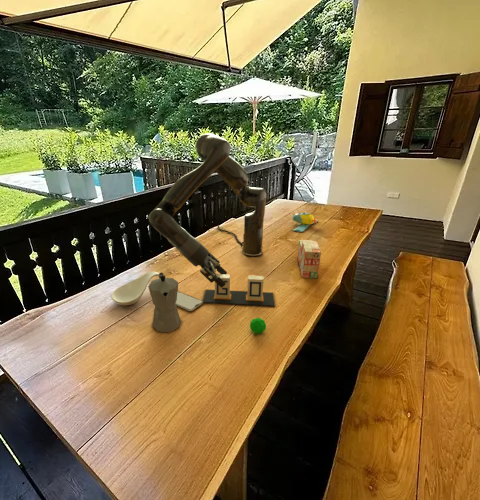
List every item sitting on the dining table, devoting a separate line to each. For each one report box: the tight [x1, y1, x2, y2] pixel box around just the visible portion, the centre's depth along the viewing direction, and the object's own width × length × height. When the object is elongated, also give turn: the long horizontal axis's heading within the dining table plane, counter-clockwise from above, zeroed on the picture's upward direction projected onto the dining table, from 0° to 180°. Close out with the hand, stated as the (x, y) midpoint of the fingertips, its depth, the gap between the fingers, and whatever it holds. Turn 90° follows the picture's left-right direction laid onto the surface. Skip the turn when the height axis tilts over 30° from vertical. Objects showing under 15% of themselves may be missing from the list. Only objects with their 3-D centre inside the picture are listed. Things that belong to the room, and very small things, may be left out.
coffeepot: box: [147, 272, 181, 333], centre depth 97 cm, size 15×9×18 cm, turn 13°
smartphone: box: [175, 290, 204, 312], centre depth 112 cm, size 7×1×15 cm
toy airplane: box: [292, 212, 319, 233], centre depth 190 cm, size 28×9×15 cm
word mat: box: [202, 289, 276, 308], centre depth 113 cm, size 26×9×1 cm, turn 83°
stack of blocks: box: [297, 239, 322, 279], centre depth 134 cm, size 21×6×12 cm, turn 170°
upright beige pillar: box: [246, 274, 264, 300], centre depth 110 cm, size 3×6×8 cm, turn 83°
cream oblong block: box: [214, 273, 231, 298], centre depth 112 cm, size 3×6×8 cm, turn 83°
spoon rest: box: [110, 271, 160, 306], centre depth 116 cm, size 24×12×7 cm, turn 140°
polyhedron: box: [249, 317, 267, 335], centre depth 94 cm, size 5×5×5 cm
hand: (224, 279), depth 111 cm, fingers open, 8 cm apart
